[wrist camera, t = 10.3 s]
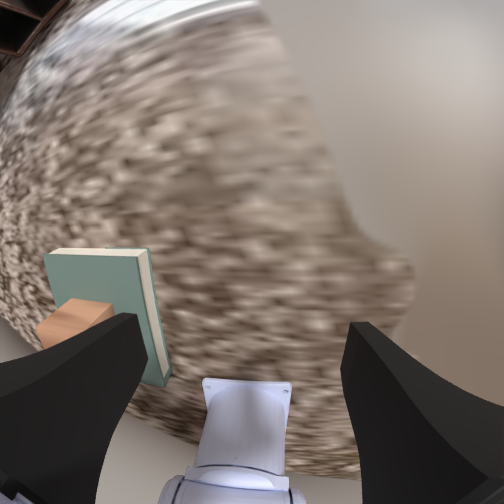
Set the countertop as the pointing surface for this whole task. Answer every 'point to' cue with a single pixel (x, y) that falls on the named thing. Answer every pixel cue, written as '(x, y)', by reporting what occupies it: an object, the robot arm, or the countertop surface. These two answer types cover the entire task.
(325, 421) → the countertop surface
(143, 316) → the book
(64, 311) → the block
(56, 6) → the letter holder
